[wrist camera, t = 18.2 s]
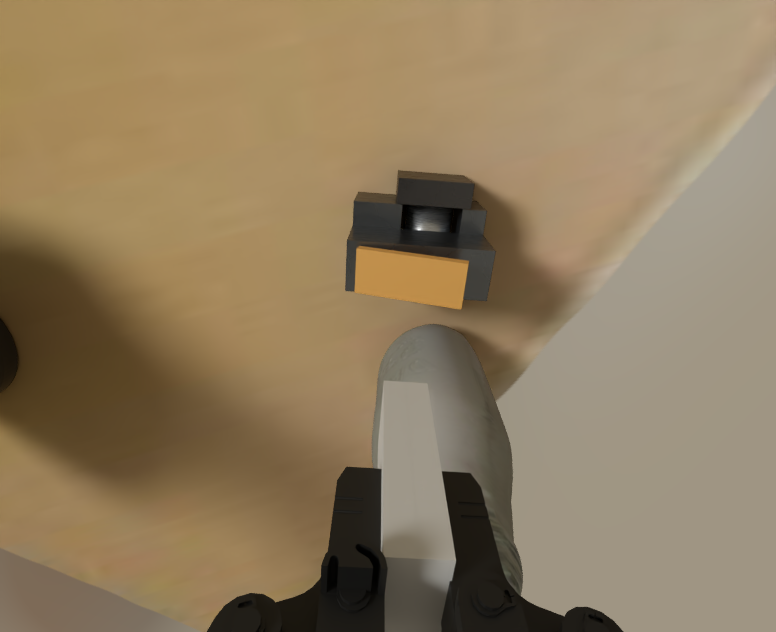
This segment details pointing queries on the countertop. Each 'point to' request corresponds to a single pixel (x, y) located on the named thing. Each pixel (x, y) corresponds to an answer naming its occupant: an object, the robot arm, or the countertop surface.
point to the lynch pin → (432, 198)
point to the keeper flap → (411, 277)
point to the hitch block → (422, 239)
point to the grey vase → (459, 422)
